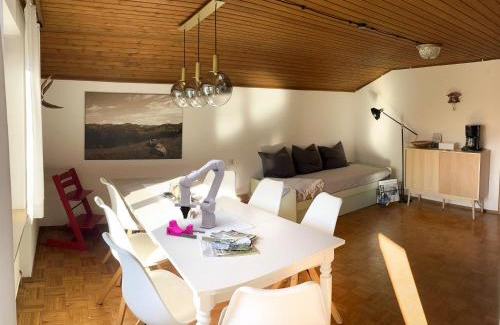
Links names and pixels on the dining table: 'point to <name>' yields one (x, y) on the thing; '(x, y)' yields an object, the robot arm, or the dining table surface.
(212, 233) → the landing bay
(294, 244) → the dining table surface
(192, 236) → the channel
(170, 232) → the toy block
